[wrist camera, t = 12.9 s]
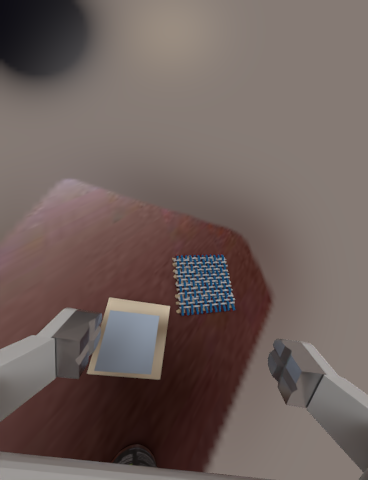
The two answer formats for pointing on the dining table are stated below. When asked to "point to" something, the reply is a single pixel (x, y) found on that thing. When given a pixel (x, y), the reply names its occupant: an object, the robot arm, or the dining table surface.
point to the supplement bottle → (135, 456)
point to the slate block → (128, 343)
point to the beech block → (160, 338)
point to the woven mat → (202, 284)
